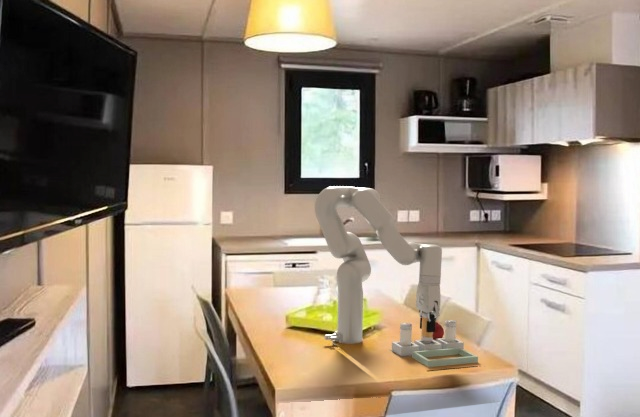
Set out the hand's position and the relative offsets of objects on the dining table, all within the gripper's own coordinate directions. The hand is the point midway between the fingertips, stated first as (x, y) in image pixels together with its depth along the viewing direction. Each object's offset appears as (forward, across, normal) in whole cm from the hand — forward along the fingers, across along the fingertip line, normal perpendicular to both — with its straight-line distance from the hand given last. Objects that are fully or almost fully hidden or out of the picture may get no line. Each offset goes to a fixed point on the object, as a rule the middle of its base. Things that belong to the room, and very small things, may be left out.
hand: (427, 329), depth 219 cm
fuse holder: (+9, 0, 0) cm, 9 cm away
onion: (+9, -15, +12) cm, 21 cm away
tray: (+9, +12, 0) cm, 15 cm away
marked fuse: (+4, 0, 0) cm, 4 cm away
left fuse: (+7, 0, -9) cm, 11 cm away
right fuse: (+7, 0, +9) cm, 12 cm away
